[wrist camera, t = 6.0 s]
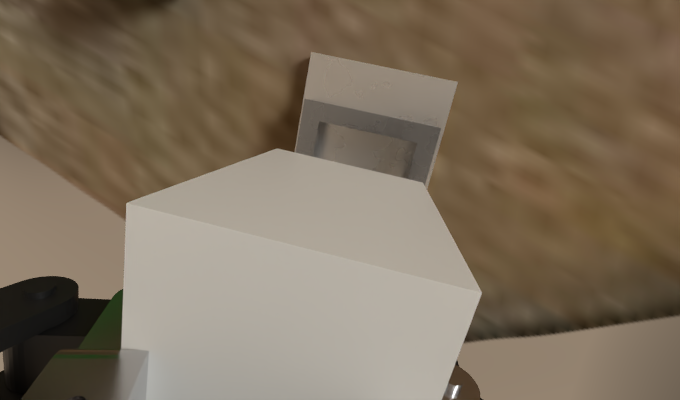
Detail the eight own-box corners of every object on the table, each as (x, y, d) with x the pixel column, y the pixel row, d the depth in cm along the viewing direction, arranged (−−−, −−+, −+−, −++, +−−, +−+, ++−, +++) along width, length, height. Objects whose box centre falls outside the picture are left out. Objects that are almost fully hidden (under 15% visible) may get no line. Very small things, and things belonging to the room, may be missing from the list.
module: (423, 182, 11) (483, 293, 4) (367, 376, 13) (350, 644, 7) (276, 148, 11) (125, 202, 5) (245, 342, 14) (112, 567, 7)
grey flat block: (454, 83, 23) (464, 79, 20) (391, 305, 28) (391, 329, 25) (314, 54, 24) (304, 46, 21) (276, 276, 29) (264, 296, 26)
